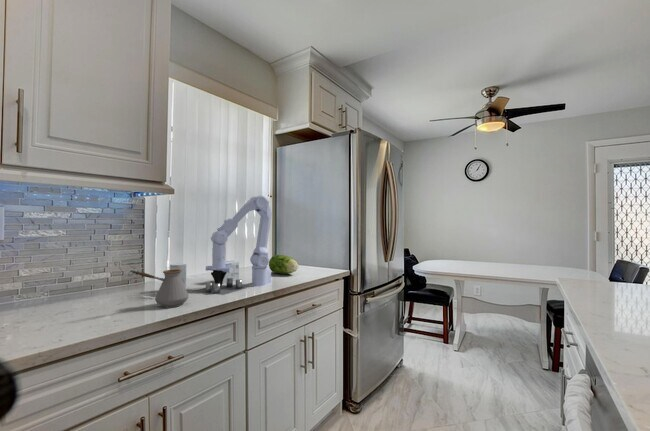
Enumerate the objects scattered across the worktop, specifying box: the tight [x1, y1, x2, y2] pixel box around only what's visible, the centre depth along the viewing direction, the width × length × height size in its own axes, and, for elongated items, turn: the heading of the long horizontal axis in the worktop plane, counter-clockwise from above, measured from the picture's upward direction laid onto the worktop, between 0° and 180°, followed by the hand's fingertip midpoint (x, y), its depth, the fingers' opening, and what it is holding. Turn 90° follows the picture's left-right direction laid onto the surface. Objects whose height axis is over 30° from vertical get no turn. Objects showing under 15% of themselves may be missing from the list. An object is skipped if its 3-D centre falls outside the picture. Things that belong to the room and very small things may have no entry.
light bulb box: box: [222, 260, 240, 285], centre depth 162 cm, size 11×7×11 cm, turn 145°
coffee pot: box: [127, 269, 190, 308], centre depth 115 cm, size 21×12×15 cm, turn 148°
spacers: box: [205, 278, 243, 295], centre depth 143 cm, size 15×16×4 cm
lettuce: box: [268, 254, 299, 275], centre depth 188 cm, size 12×21×11 cm, turn 50°
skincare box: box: [169, 263, 187, 290], centre depth 144 cm, size 6×4×12 cm
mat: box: [193, 284, 247, 296], centre depth 143 cm, size 15×18×1 cm
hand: (218, 287), depth 143 cm, fingers closed
